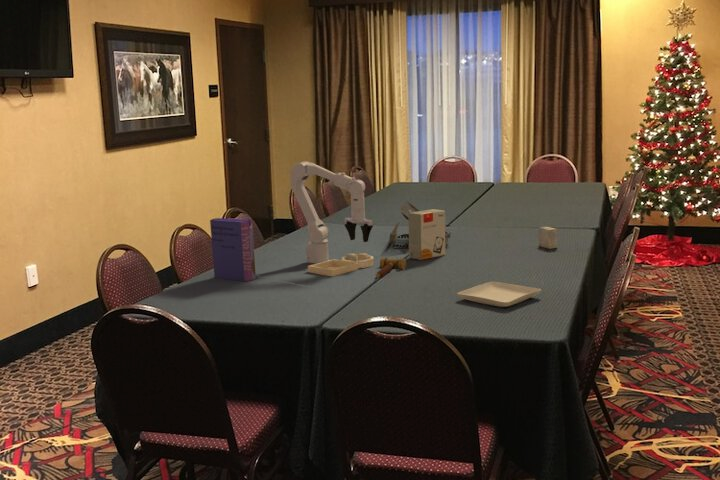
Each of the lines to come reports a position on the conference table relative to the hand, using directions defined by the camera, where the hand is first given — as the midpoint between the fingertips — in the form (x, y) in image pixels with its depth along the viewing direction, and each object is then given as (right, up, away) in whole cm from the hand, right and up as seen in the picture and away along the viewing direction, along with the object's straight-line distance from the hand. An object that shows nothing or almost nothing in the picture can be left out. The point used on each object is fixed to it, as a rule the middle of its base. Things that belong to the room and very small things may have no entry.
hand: (359, 240), depth 332 cm
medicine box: (+85, -3, +20) cm, 87 cm away
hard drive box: (+30, -7, +11) cm, 33 cm away
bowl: (-1, -11, -3) cm, 11 cm away
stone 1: (-3, -10, -3) cm, 11 cm away
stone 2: (+2, -10, -3) cm, 11 cm away
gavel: (+11, -13, -16) cm, 24 cm away
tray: (-11, -13, -12) cm, 20 cm away
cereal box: (-50, -15, -16) cm, 55 cm away
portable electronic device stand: (+29, -1, +44) cm, 53 cm away
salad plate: (+48, -21, -62) cm, 81 cm away
